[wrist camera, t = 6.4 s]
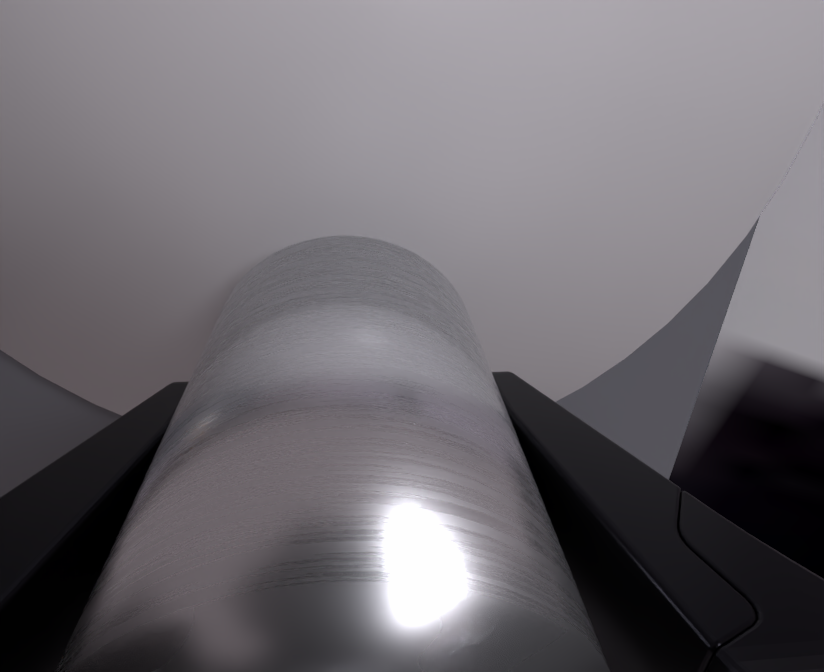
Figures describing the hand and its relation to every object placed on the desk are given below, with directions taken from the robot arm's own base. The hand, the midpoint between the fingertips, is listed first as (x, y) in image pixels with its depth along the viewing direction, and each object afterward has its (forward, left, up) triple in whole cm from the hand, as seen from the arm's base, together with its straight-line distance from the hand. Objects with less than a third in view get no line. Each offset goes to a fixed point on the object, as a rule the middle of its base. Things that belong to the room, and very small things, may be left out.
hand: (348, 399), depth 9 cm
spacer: (0, 0, -1) cm, 1 cm away
